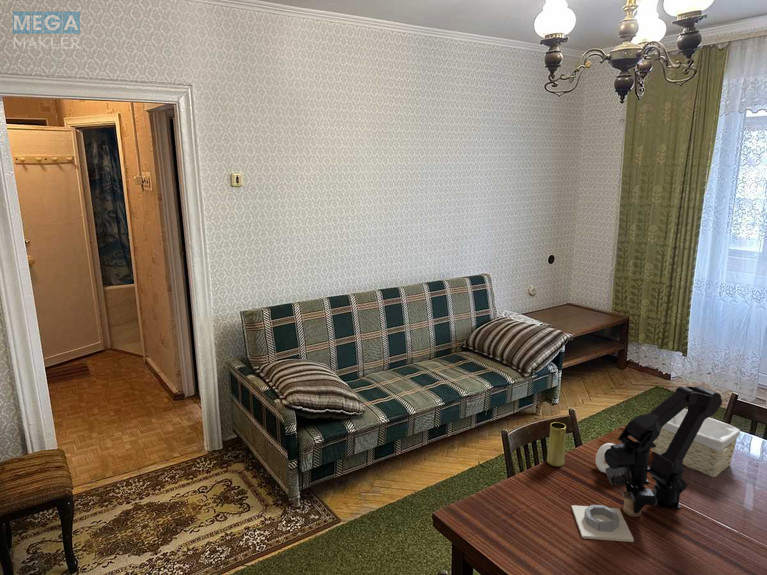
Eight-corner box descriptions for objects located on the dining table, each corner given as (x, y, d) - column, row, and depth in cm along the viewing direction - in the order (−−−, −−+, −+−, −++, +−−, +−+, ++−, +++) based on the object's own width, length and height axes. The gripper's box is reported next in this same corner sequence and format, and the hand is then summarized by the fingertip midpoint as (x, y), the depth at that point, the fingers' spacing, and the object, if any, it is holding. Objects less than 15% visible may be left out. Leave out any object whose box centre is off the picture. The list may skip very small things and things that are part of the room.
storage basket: (736, 466, 188) (742, 427, 185) (716, 482, 179) (722, 442, 175) (667, 438, 207) (672, 403, 203) (645, 452, 197) (650, 415, 194)
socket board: (618, 510, 165) (619, 501, 164) (633, 541, 151) (634, 532, 150) (571, 507, 166) (572, 498, 166) (582, 538, 153) (582, 528, 152)
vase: (565, 467, 188) (568, 430, 185) (547, 465, 189) (549, 428, 186) (563, 458, 194) (566, 422, 190) (545, 456, 195) (548, 420, 192)
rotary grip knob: (640, 507, 166) (642, 489, 165) (646, 517, 161) (648, 499, 160) (618, 505, 167) (620, 488, 165) (623, 516, 162) (625, 498, 161)
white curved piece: (586, 470, 186) (588, 447, 184) (605, 458, 193) (607, 436, 191) (618, 485, 177) (620, 461, 175) (636, 472, 185) (638, 448, 183)
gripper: (601, 443, 170) (597, 487, 174) (619, 477, 152) (614, 525, 156) (638, 445, 169) (633, 489, 172) (660, 479, 151) (654, 528, 154)
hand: (632, 507), depth 164 cm, fingers open, 5 cm apart
